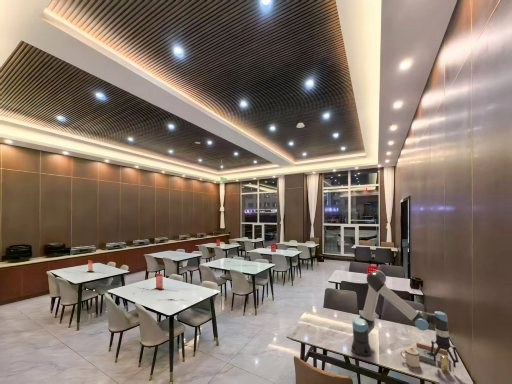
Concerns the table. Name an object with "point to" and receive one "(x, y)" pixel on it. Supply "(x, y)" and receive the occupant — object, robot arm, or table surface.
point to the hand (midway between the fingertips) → (445, 368)
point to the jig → (425, 353)
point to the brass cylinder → (444, 364)
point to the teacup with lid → (411, 357)
